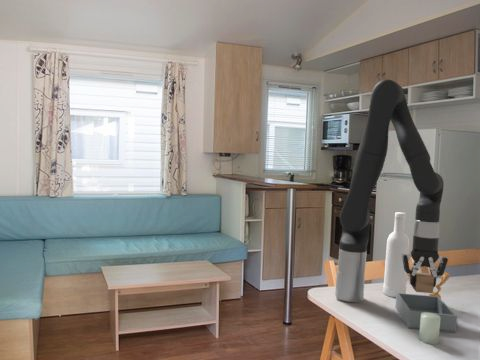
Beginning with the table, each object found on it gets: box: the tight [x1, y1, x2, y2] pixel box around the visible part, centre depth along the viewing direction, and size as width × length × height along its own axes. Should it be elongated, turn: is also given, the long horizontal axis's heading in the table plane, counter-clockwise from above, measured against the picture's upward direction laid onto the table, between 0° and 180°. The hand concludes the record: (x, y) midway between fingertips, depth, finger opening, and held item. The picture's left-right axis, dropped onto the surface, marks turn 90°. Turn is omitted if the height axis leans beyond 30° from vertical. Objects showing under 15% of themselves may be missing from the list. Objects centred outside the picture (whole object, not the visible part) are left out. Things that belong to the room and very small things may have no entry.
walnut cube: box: [412, 271, 434, 294], centre depth 142 cm, size 5×5×5 cm
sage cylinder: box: [418, 312, 441, 345], centre depth 122 cm, size 5×5×7 cm
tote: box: [395, 293, 458, 334], centre depth 138 cm, size 13×17×5 cm
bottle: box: [382, 211, 411, 299], centre depth 160 cm, size 8×8×30 cm
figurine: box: [428, 271, 451, 300], centre depth 152 cm, size 8×6×12 cm
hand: (422, 286), depth 142 cm, fingers closed on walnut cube, 5 cm apart
